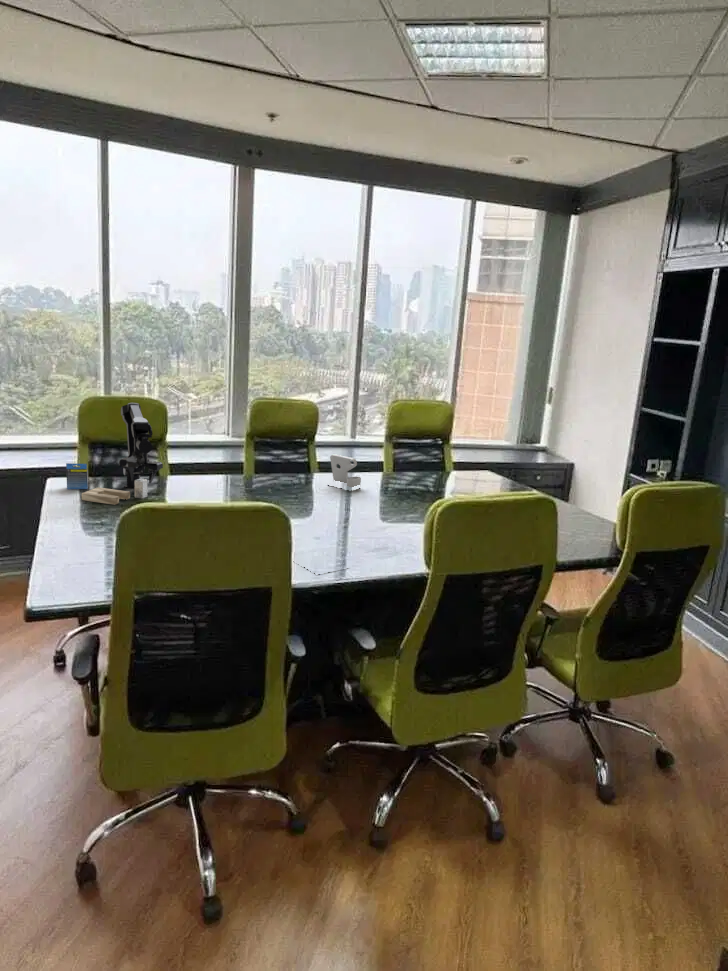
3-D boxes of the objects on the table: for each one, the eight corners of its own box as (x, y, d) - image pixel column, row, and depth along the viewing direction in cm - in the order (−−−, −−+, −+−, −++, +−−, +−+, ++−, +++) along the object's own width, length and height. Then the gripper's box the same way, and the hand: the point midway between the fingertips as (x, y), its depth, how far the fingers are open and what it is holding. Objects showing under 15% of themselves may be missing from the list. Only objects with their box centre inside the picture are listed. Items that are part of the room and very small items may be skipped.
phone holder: (362, 489, 326) (365, 456, 322) (351, 492, 318) (354, 458, 314) (336, 482, 335) (338, 451, 331) (325, 485, 327) (328, 453, 323)
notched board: (98, 493, 274) (97, 487, 273) (130, 498, 272) (130, 491, 271) (81, 500, 263) (81, 493, 262) (115, 504, 260) (115, 498, 259)
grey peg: (139, 495, 277) (139, 478, 275) (147, 496, 277) (147, 479, 275) (134, 497, 273) (134, 480, 272) (142, 498, 273) (142, 481, 271)
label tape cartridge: (88, 487, 283) (88, 461, 280) (87, 489, 280) (87, 463, 277) (67, 487, 280) (67, 461, 277) (66, 489, 277) (65, 463, 274)
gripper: (111, 449, 263) (112, 483, 267) (150, 454, 261) (150, 488, 264) (125, 445, 274) (125, 478, 278) (163, 450, 271) (163, 483, 275)
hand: (140, 482), depth 274 cm, fingers open, 9 cm apart
